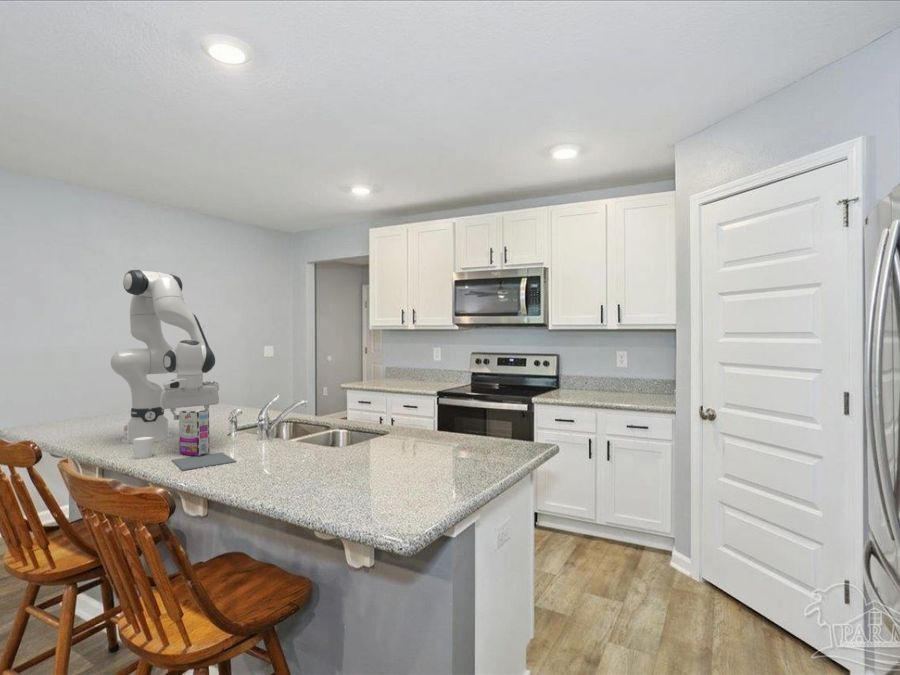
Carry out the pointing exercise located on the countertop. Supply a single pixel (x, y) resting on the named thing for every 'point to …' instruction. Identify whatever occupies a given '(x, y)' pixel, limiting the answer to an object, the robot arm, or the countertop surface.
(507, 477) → the countertop surface
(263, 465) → the countertop surface
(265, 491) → the countertop surface
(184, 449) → the candy bar box
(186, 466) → the mat
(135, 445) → the white cylinder
